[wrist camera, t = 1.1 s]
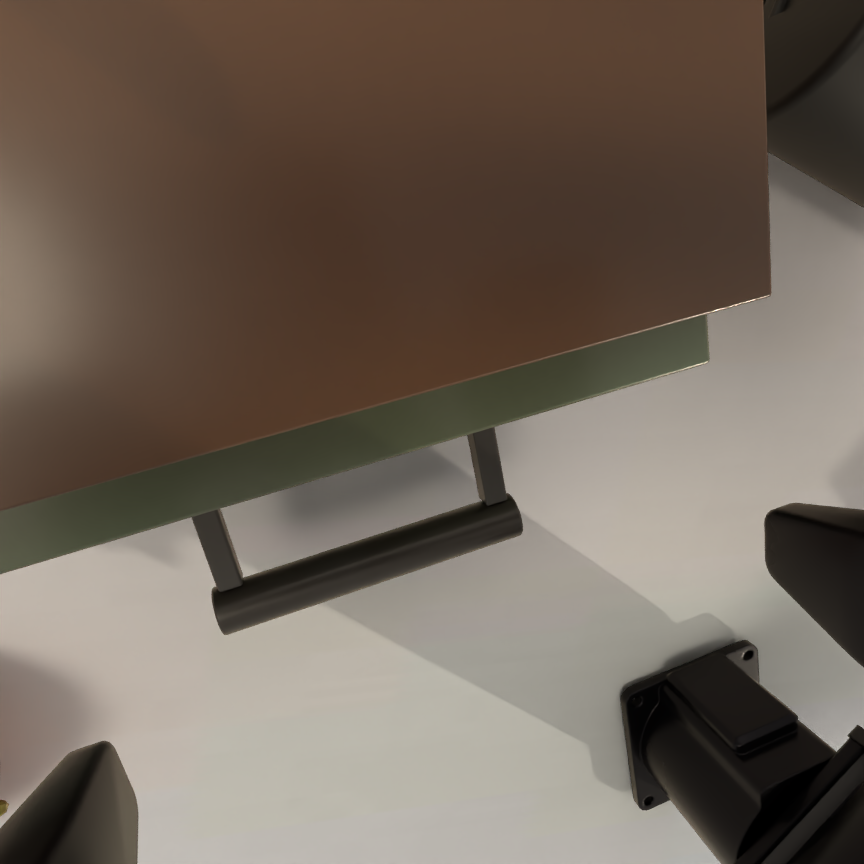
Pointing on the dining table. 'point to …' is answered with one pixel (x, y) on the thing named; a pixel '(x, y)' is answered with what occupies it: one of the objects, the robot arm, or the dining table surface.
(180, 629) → the dining table surface
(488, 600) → the dining table surface
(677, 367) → the drawer
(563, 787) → the dining table surface
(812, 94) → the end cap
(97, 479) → the cabinet
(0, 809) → the fruit slice
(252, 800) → the dining table surface
